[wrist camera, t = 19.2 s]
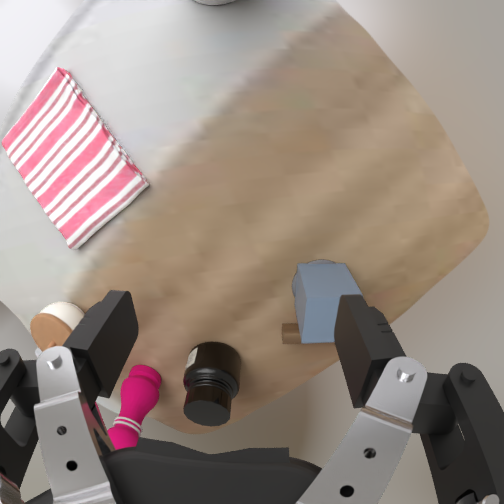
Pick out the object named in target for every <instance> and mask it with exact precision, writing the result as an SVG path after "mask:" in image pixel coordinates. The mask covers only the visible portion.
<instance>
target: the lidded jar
mask: <svg viewBox="0 0 504 504" xmlns="http://www.w3.org/2000/svg"><path fill="white" fill-rule="evenodd" d="M84 315H85V314H84V312H83V311H82V310H81V309H80V308H79V307H78V306H76V305H74V304H72V303H66V302H55V303H52V304H50V305H48V306H46V307H45V308H44V309H42V310H41V311H40V312H39V314H37V315H36V316H35V317H34V318H33V319H32V321H31V325H30V329H31V334H32V337H33V339H34V340H35V342H36V344H37V345H38V347H39V348H40V349H41V351H42V352H43V351H45V350H46V349H48V348H51V347H55V346H62V345H63V344H64V342H65V341H66V340H67V338H68V337H69V335H70V334H71V333H72V331H73V330H74V329H75V327H76V326H77V325H79V322H80V320H81V319H82V318H83V316H84Z"/></svg>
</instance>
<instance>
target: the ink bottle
mask: <svg viewBox="0 0 504 504" xmlns="http://www.w3.org/2000/svg"><path fill="white" fill-rule="evenodd" d="M240 369H241V360H240V357H239V355H238V353H237V352H236V351H235V350H234V349H233V348H232V347H230V346H228V345H226V344H223V343H219V342H205V343H201V344H199V345H197V346H195V347H194V348H193V349H192V350H191V352H190V355H189V357H188V362H187V365H186V370H185V373H184V379H183V383H184V387H185V389H186V391H187V395H186V399H185V404H184V414H185V415H186V416H187V418H188V419H190V420H191V421H193V422H194V423H197V424H200V425H205V426H220V425H222V424H225V423H226V422H227V421H228V420H229V419H230V412H231V400H232V399H233V398H234V397H235V396H236V395H237V393H238V391H239V385H240Z"/></svg>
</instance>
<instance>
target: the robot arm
mask: <svg viewBox="0 0 504 504" xmlns="http://www.w3.org/2000/svg"><path fill="white" fill-rule="evenodd" d="M194 1H196V2H198V3H201V4H206V5H221V4H226V3H230V2H233V1H235V0H194ZM137 336H138V322H137V318H136V314H135V309H134V305H133V301H132V297H131V294H130V292H129V291H116V290H111V291H109V292H108V294H107V295H106V296H105V298H104V299H103V300H102V302H98V303H97V304H95V305H94V306H92V307H91V308H89V310H88V311H87V312H86V314H85V315H84V316H83V318H82V319H81V320H80V322H79V325H77V326H76V327H75V329H74V330H73V331H72V333H71V334H70V335H69V337H68V338H67V340H66V341H65V342H64V344H63V345H62V346H55V347H51V348H48V349H46V350H45V351H43V352H42V353H41V354H40V355H39V357H38V359H37V360H28V361H23V360H22V359H21V356H20V355H19V353H18V351H16V350H14V349H6V350H3V351H1V352H0V416H1V413H2V411H3V409H4V408H5V406H6V404H7V402H8V400H9V399H11V400H12V402H13V403H14V404H15V406H16V407H15V408H14V410H13V412H12V414H11V416H10V418H9V420H8V422H7V424H6V426H5V428H3V427H2V425H1V421H0V504H378V502H379V500H380V499H381V497H382V495H383V493H384V491H385V489H386V487H387V485H388V483H389V481H390V479H391V477H392V475H393V473H394V471H395V469H396V467H397V465H398V463H399V461H400V459H401V456H402V454H403V452H404V449H405V447H406V445H407V442H408V440H409V437H410V435H411V433H420V436H421V440H422V443H423V446H424V449H425V453H426V456H427V459H428V463H429V467H430V470H431V474H432V478H433V482H434V486H435V490H436V494H437V498H438V503H439V504H504V412H503V410H502V408H501V406H500V404H499V402H498V400H497V398H496V397H495V395H494V393H493V391H492V389H491V388H490V386H489V384H488V382H487V381H486V379H485V377H484V375H483V374H482V372H481V371H480V370H479V369H478V368H476V367H475V366H473V365H471V364H468V363H458V364H456V365H454V366H453V367H452V368H451V370H450V372H449V373H448V375H447V374H436V373H428V372H426V369H425V367H424V366H423V365H422V364H421V363H420V362H418V361H417V360H415V359H413V358H409V357H406V355H405V353H404V351H403V349H402V347H401V345H400V343H399V342H398V340H397V338H396V336H395V334H394V333H393V332H392V329H391V327H390V325H388V322H387V320H386V318H385V316H384V315H383V314H382V313H381V312H380V311H379V310H377V309H376V308H375V307H368V305H367V304H366V302H365V300H364V298H363V296H362V295H361V294H348V295H341V297H340V300H339V306H338V311H337V317H336V322H335V328H334V341H335V345H336V348H337V352H338V355H339V358H340V362H341V365H342V369H343V372H344V375H345V379H346V382H347V386H348V389H349V393H350V396H351V400H352V404H353V407H354V408H361V407H362V409H361V411H360V412H359V414H358V416H357V417H356V419H355V421H354V422H353V424H352V425H351V427H350V429H349V430H348V432H347V433H346V435H345V437H344V438H343V440H342V441H341V443H340V444H339V446H338V447H337V449H336V450H335V452H334V453H333V455H332V456H331V458H330V459H329V460H328V462H327V463H326V465H325V466H324V467H323V469H322V468H320V467H318V466H316V465H314V464H312V463H310V462H307V461H304V460H300V459H297V458H292V457H289V448H248V449H243V450H238V451H231V452H225V453H219V454H206V453H203V452H199V451H196V450H193V449H190V448H187V447H184V446H181V445H178V444H176V443H173V442H166V441H159V440H153V439H146V438H141V437H139V438H138V442H137V445H136V446H134V447H126V448H122V449H117V450H116V449H115V447H114V445H113V443H112V441H111V439H110V437H109V434H108V432H107V429H106V427H105V424H104V422H103V419H102V417H101V414H100V411H99V408H98V406H97V404H96V402H95V401H96V399H97V397H98V396H101V397H106V398H110V396H111V393H112V391H113V389H114V386H115V384H116V382H117V380H118V378H119V375H120V373H121V371H122V369H123V367H124V365H125V362H126V360H127V358H128V356H129V354H130V352H131V350H132V348H133V345H134V343H135V341H136V339H137ZM458 424H459V425H458ZM459 426H460V428H459ZM460 429H461V430H460ZM461 431H462V433H461ZM462 434H463V436H464V438H463V436H462ZM38 440H39V443H40V448H41V452H42V457H43V461H44V465H45V469H46V473H47V477H48V480H49V484H50V487H51V488H50V489H49V490H47V491H45V492H43V493H42V494H40V495H38V496H36V497H34V498H33V499H31V500H29V501H27V502H25V503H24V501H23V500H22V499H21V494H20V491H19V489H20V487H21V484H22V481H23V478H24V475H25V472H26V470H27V467H28V464H29V462H30V459H31V457H32V454H33V452H34V449H35V447H36V444H37V442H38ZM464 440H465V441H464Z"/></svg>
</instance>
